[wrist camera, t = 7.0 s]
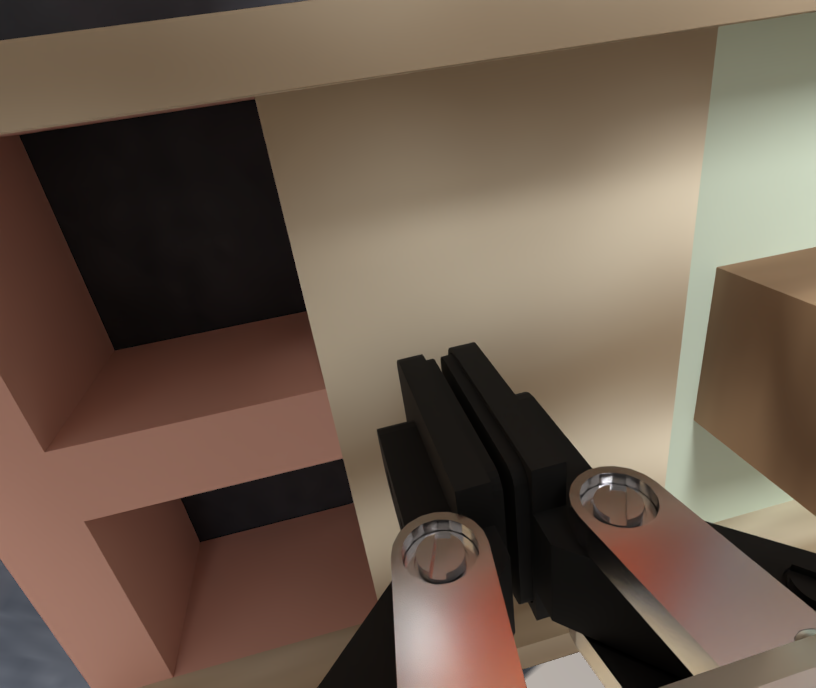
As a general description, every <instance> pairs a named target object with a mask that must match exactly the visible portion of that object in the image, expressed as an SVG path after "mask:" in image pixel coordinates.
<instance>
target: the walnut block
mask: <svg viewBox="0 0 816 688" xmlns="http://www.w3.org/2000/svg"><path fill="white" fill-rule="evenodd" d="M694 421H695V422H697V423H698V424H699V425H700V426H702V427H703V428H704V429H705V430H707V431H708V432H709V433H711V434H712V435H713V436H714V437H716V438H717V439H718V440H719V441H721V442H722V443H723V444H724V445H726V446H727V447H728V448H730V449H731V450H732V451H733V452H735V453H736V454H737V455H738V456H740V457H741V458H742V459H744V460H745V461H746V462H747V463H749V464H750V465H751V466H752V467H754V468H755V469H756V470H757V471H759V472H760V473H761V474H763V475H764V476H765V477H766V478H768V479H769V480H770V481H771V482H773V483H774V484H775V485H777V486H778V487H779V488H780V489H782V490H783V491H784V492H785V493H787V494H788V495H789V496H790V497H792V498H793V499H794V500H796V501H797V502H798V503H799V504H801V505H802V506H803V507H804V508H806V509H807V510H808V511H809V512H811V513H812V514H813V515H815V516H816V247H813V248H808V249H803V250H798V251H793V252H788V253H784V254H779V255H774V256H769V257H764V258H759V259H754V260H749V261H744V262H739V263H735V264H730V265H725V266H720V267H717V268H716V275H715V281H714V288H713V294H712V301H711V308H710V314H709V321H708V327H707V334H706V341H705V347H704V354H703V360H702V367H701V373H700V380H699V387H698V393H697V400H696V406H695V413H694Z"/></svg>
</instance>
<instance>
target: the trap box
mask: <svg viewBox="0 0 816 688" xmlns="http://www.w3.org/2000/svg"><path fill="white" fill-rule="evenodd" d="M254 99H255V101H256V105H257V109H258V113H259V117H260V121H261V126H262V130H263V134H264V138H265V142H266V146H267V150H268V154H269V158H270V162H271V166H272V171H273V175H274V179H275V183H276V187H277V191H278V195H279V199H280V203H281V207H282V211H283V215H284V220H285V224H286V228H287V232H288V236H289V240H290V244H291V248H292V252H293V256H294V260H295V265H296V269H297V273H298V277H299V281H300V285H301V289H302V293H303V297H304V301H305V305H306V309H307V311H305V312H300V313H295V314H291V315H286V316H281V317H276V318H271V319H266V320H261V321H256V322H252V323H247V324H242V325H237V326H232V327H227V328H222V329H218V330H213V331H208V332H203V333H198V334H193V335H188V336H184V337H179V338H174V339H169V340H164V341H159V342H154V343H149V344H145V345H140V346H135V347H130V348H125V349H120V350H114V348H113V346H112V343H111V341H110V339H109V337H108V334H107V332H106V330H105V328H104V325H103V323H102V321H101V319H100V316H99V314H98V312H97V310H96V307H95V305H94V303H93V301H92V298H91V296H90V294H89V292H88V289H87V287H86V285H85V283H84V280H83V278H82V276H81V274H80V271H79V269H78V267H77V265H76V262H75V260H74V258H73V256H72V253H71V251H70V249H69V247H68V244H67V242H66V240H65V238H64V235H63V233H62V231H61V229H60V226H59V224H58V222H57V220H56V217H55V215H54V213H53V211H52V208H51V206H50V204H49V202H48V199H47V197H46V195H45V193H44V190H43V188H42V186H41V184H40V181H39V179H38V177H37V175H36V172H35V170H34V168H33V166H32V163H31V161H30V159H29V157H28V154H27V152H26V150H25V148H24V145H23V143H22V141H21V139H20V136H19V135H23V134H30V133H37V132H43V131H50V130H56V129H63V128H70V127H76V126H83V125H89V124H96V123H103V122H109V121H116V120H122V119H129V118H136V117H142V116H149V115H155V114H162V113H169V112H175V111H182V110H188V109H195V108H202V107H208V106H215V105H221V104H228V103H234V102H241V101H248V100H254ZM813 247H816V0H309V1H301V2H294V3H286V4H278V5H270V6H263V7H255V8H247V9H240V10H232V11H224V12H216V13H209V14H201V15H193V16H185V17H178V18H170V19H162V20H155V21H147V22H139V23H131V24H124V25H116V26H108V27H100V28H93V29H85V30H77V31H69V32H62V33H54V34H46V35H39V36H31V37H23V38H15V39H8V40H0V559H1V560H2V562H3V563H4V565H5V566H6V568H7V569H8V570H9V572H10V573H11V575H12V576H13V578H14V579H15V580H16V582H17V583H18V585H19V586H20V587H21V589H22V590H23V592H24V593H25V595H26V596H27V597H28V599H29V600H30V602H31V603H32V605H33V606H34V607H35V609H36V610H37V612H38V613H39V614H40V616H41V617H42V619H43V620H44V622H45V623H46V624H47V626H48V627H49V629H50V630H51V632H52V633H53V634H54V636H55V637H56V639H57V640H58V641H59V643H60V644H61V646H62V647H63V649H64V650H65V651H66V653H67V654H68V656H69V657H70V659H71V660H72V661H73V663H74V664H75V666H76V667H77V668H78V670H79V671H80V673H81V674H82V676H83V677H84V678H85V680H86V681H87V683H88V684H89V686H90V687H91V688H317V687H318V686H319V684H320V683H321V681H322V680H323V679H324V677H325V676H326V674H327V673H328V671H329V670H330V669H331V667H332V666H333V664H334V663H335V661H336V660H337V658H338V657H339V656H340V654H341V653H342V651H343V650H344V648H345V647H346V646H347V644H348V643H349V641H350V640H351V638H352V637H353V636H354V634H355V633H356V631H357V630H358V628H359V627H360V626H361V624H362V623H363V621H364V620H365V618H366V617H367V615H368V614H369V613H370V611H371V610H372V608H373V607H374V605H375V604H376V603H377V601H378V600H379V598H380V597H381V595H382V594H383V593H384V591H385V590H386V588H387V587H388V585H389V584H390V583H391V581H392V572H391V552H392V545H393V543H394V541H395V539H396V537H397V535H398V533H399V532H400V531H401V530H400V526H399V523H398V519H397V515H396V512H395V508H394V504H393V501H392V497H391V493H390V489H389V485H388V481H387V477H386V472H385V468H384V464H383V459H382V454H381V450H380V445H379V440H378V435H377V429H379V428H383V427H387V426H391V425H395V424H399V423H403V422H407V420H406V414H405V409H404V403H403V397H402V392H401V386H400V380H399V374H398V368H397V360H399V359H403V358H408V357H412V356H416V355H421V354H423V356H424V357H425V359H426V360H429V359H435V361H436V363H437V364H438V366H439V368H440V370H441V361H440V359H441V357H442V356H446V355H448V349H449V348H450V347H455V346H459V345H463V344H467V343H472V342H475V343H476V344H477V345H478V346H479V348H480V349H481V350H482V352H483V353H484V354H485V356H486V357H487V358H488V359H489V361H490V362H491V363H492V365H493V366H494V367H495V369H496V370H497V371H498V373H499V374H500V375H501V376H502V378H503V379H504V380H505V382H506V383H507V384H508V386H509V387H510V388H511V390H512V391H513V392H514V393H515V394H518V393H522V392H529V393H530V394H531V395H532V396H534V398H535V399H536V400H537V401H538V403H539V404H540V405H541V406H542V407H543V409H544V410H545V411H546V412H547V414H548V415H549V416H550V417H551V418H552V420H553V421H554V422H555V423H556V425H557V426H558V427H559V428H560V429H561V431H562V432H563V433H564V434H565V436H566V437H567V438H568V439H569V440H570V442H571V443H572V444H573V445H574V447H575V448H576V449H577V450H578V451H579V453H580V454H581V455H582V456H583V458H584V459H585V460H586V461H587V462H588V464H589V465H590V466H591V467H592V469H593V468H597V467H601V466H618V467H624V468H630V469H632V470H635V471H638V472H640V473H643V474H645V475H647V476H648V477H650V478H651V479H653V480H654V481H656V482H657V483H659V484H660V485H661V486H662V487H663V488H665V489H666V490H667V491H668V492H670V493H671V494H672V495H673V496H674V497H676V498H677V499H678V500H679V501H681V502H682V503H683V504H684V505H686V506H687V507H688V508H689V509H690V510H692V511H693V512H694V513H695V514H697V515H698V516H699V517H700V518H701V519H703V520H704V521H707V522H711V523H714V524H717V525H721V526H724V527H728V528H731V529H735V530H738V531H742V532H745V533H748V534H752V535H755V536H759V537H762V538H766V539H769V540H773V541H776V542H779V543H783V544H786V545H790V546H793V547H797V548H800V549H804V550H807V551H810V552H814V553H816V516H815V515H813V514H812V513H811V512H809V511H808V510H807V509H806V508H804V507H803V506H802V505H801V504H799V503H798V502H797V501H796V500H794V499H793V498H792V497H790V496H789V495H788V494H787V493H785V492H784V491H783V490H782V489H780V488H779V487H778V486H777V485H775V484H774V483H773V482H771V481H770V480H769V479H768V478H766V477H765V476H764V475H763V474H761V473H760V472H759V471H757V470H756V469H755V468H754V467H752V466H751V465H750V464H749V463H747V462H746V461H745V460H744V459H742V458H741V457H740V456H738V455H737V454H736V453H735V452H733V451H732V450H731V449H730V448H728V447H727V446H726V445H724V444H723V443H722V442H721V441H719V440H718V439H717V438H716V437H714V436H713V435H712V434H711V433H709V432H708V431H707V430H705V429H704V428H703V427H702V426H700V425H699V424H698V423H697V422H695V421H694V413H695V406H696V400H697V393H698V387H699V380H700V373H701V367H702V360H703V354H704V347H705V341H706V334H707V327H708V321H709V314H710V308H711V301H712V294H713V288H714V281H715V275H716V268H717V267H720V266H725V265H730V264H735V263H739V262H744V261H749V260H754V259H759V258H764V257H769V256H774V255H779V254H784V253H788V252H793V251H798V250H803V249H808V248H813ZM441 371H442V370H441ZM339 459H343V461H344V465H345V469H346V473H347V477H348V481H349V485H350V489H351V493H352V497H353V501H354V503H352V504H348V505H344V506H340V507H336V508H332V509H328V510H324V511H321V512H317V513H313V514H309V515H305V516H301V517H297V518H293V519H289V520H285V521H281V522H278V523H274V524H270V525H266V526H262V527H258V528H254V529H250V530H246V531H242V532H238V533H235V534H231V535H227V536H223V537H219V538H215V539H211V540H207V541H203V542H200V541H199V539H198V537H197V534H196V532H195V530H194V528H193V525H192V523H191V521H190V519H189V516H188V514H187V512H186V510H185V507H184V505H183V503H182V501H181V498H183V497H187V496H191V495H195V494H199V493H203V492H207V491H212V490H216V489H220V488H224V487H228V486H232V485H236V484H240V483H244V482H248V481H253V480H257V479H261V478H265V477H269V476H273V475H277V474H281V473H285V472H289V471H294V470H298V469H302V468H306V467H310V466H314V465H318V464H322V463H326V462H330V461H335V460H339ZM513 604H514V619H515V634H514V641H515V644H516V648H517V652H518V656H519V660H520V664H521V667H522V670H523V669H526V668H529V667H532V666H535V665H539V664H542V663H545V662H548V661H552V660H555V659H558V658H561V657H564V656H567V655H571V654H574V653H577V652H580V651H579V650H578V649H577V647H576V646H575V644H574V642H573V640H572V638H571V636H570V633H569V628H567V627H565V626H563V625H560V624H558V623H556V622H554V621H552V620H551V618H550V617H547V618H544V619H541V620H538V621H537V620H536V618H535V616H534V614H533V612H532V610H531V608H530V606H529V604H528V602H527V603H524V604H518V602H517V601H516V599H515V597H514V595H513Z"/></svg>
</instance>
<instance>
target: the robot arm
mask: <svg viewBox="0 0 816 688" xmlns="http://www.w3.org/2000/svg"><path fill="white" fill-rule="evenodd" d="M440 361H441V370H442V371H441V370H440V368H439V366H438V364H437V363H436V361H435V359H429V360H426V359H425V357H424V356H423V354H421V355H416V356H412V357H408V358H403V359H399V360H397V368H398V374H399V380H400V386H401V392H402V397H403V403H404V409H405V414H406V420H407V422H403V423H399V424H395V425H391V426H387V427H383V428H379V429H377V435H378V440H379V445H380V450H381V454H382V459H383V464H384V468H385V472H386V477H387V481H388V485H389V489H390V493H391V497H392V501H393V504H394V508H395V512H396V515H397V519H398V523H399V526H400V530H401V531H400V532H399V533H398V535H397V537H396V539H395V541H394V543H393V545H392V552H391V572H392V581H391V583H390V584H389V585H388V587H387V588H386V590H385V591H384V593H383V594H382V595H381V597H380V598H379V600H378V601H377V603H376V604H375V605H374V607H373V608H372V610H371V611H370V613H369V614H368V615H367V617H366V618H365V620H364V621H363V623H362V624H361V626H360V627H359V628H358V630H357V631H356V633H355V634H354V636H353V637H352V638H351V640H350V641H349V643H348V644H347V646H346V647H345V648H344V650H343V651H342V653H341V654H340V656H339V657H338V658H337V660H336V661H335V663H334V664H333V666H332V667H331V669H330V670H329V671H328V673H327V674H326V676H325V677H324V679H323V680H322V681H321V683H320V684H319V686H318V687H317V688H527V687H526V683H525V679H524V675H523V671H522V667H521V664H520V660H519V656H518V652H517V648H516V644H515V641H514V634H515V619H514V604H513V595H514V597H515V599H516V601H517V602H518V604H524V603H527V602H528V604H529V606H530V608H531V610H532V612H533V614H534V616H535V618H536V620H537V621H538V620H541V619H544V618H547V617H550V618H551V620H552V621H554V622H556V623H558V624H560V625H563V626H565V627H567V628H569V633H570V636H571V638H572V640H573V642H574V644H575V646H576V647H577V649H578V650H579V651H580V653H581V654H582V656H583V657H584V658H585V660H586V661H587V662H588V664H589V665H590V667H591V668H592V670H593V671H594V673H595V674H596V675H597V676H598V678H599V680H600V681H601V682H602V684H603V685H604V687H605V688H816V553H814V552H810V551H807V550H804V549H800V548H797V547H793V546H790V545H786V544H783V543H779V542H776V541H773V540H769V539H766V538H762V537H759V536H755V535H752V534H748V533H745V532H742V531H738V530H735V529H731V528H728V527H724V526H721V525H717V524H714V523H711V522H707V521H704V520H703V519H701V518H700V517H699V516H698V515H697V514H695V513H694V512H693V511H692V510H690V509H689V508H688V507H687V506H686V505H684V504H683V503H682V502H681V501H679V500H678V499H677V498H676V497H674V496H673V495H672V494H671V493H670V492H668V491H667V490H666V489H665V488H663V487H662V486H661V485H660V484H659V483H657V482H656V481H654V480H653V479H651V478H650V477H648V476H647V475H645V474H643V473H640V472H638V471H635V470H632V469H630V468H624V467H618V466H601V467H597V468H593V469H592V467H591V466H590V465H589V464H588V462H587V461H586V460H585V459H584V458H583V456H582V455H581V454H580V453H579V451H578V450H577V449H576V448H575V447H574V445H573V444H572V443H571V442H570V440H569V439H568V438H567V437H566V436H565V434H564V433H563V432H562V431H561V429H560V428H559V427H558V426H557V425H556V423H555V422H554V421H553V420H552V418H551V417H550V416H549V415H548V414H547V412H546V411H545V410H544V409H543V407H542V406H541V405H540V404H539V403H538V401H537V400H536V399H535V398H534V396H532V395H531V394H530V393H529V392H522V393H518V394H515V393H514V392H513V391H512V390H511V388H510V387H509V386H508V384H507V383H506V382H505V380H504V379H503V378H502V376H501V375H500V374H499V373H498V371H497V370H496V369H495V367H494V366H493V365H492V363H491V362H490V361H489V359H488V358H487V357H486V356H485V354H484V353H483V352H482V350H481V349H480V348H479V346H478V345H477V344H476V343H475V342H472V343H467V344H463V345H459V346H455V347H450V348H449V349H448V355H446V356H442V357H441V359H440Z"/></svg>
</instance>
